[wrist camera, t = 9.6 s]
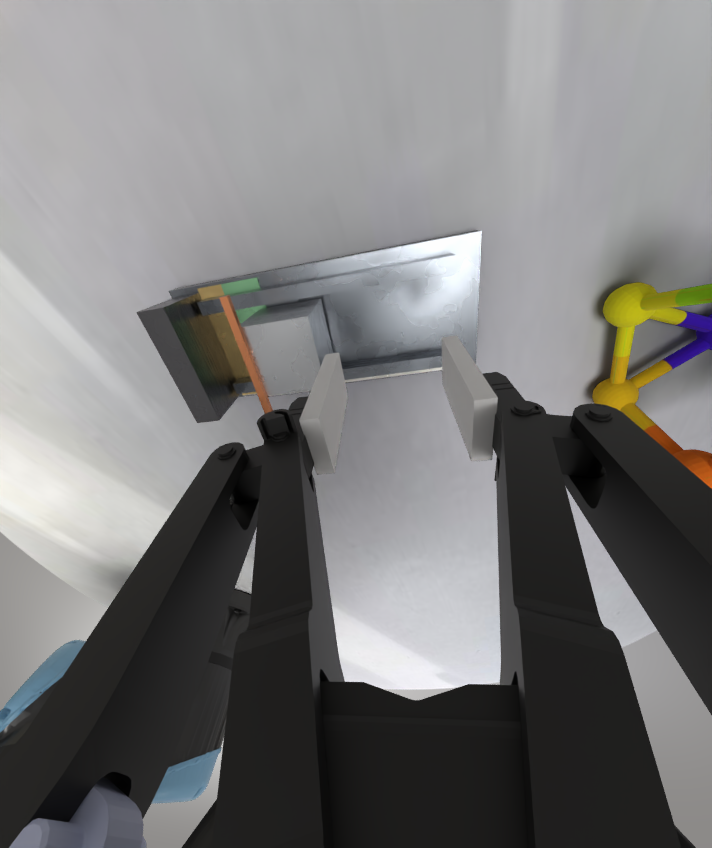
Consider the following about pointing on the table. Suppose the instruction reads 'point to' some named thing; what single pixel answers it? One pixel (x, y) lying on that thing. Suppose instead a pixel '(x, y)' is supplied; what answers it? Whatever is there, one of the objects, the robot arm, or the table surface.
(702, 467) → the educational toy
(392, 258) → the base
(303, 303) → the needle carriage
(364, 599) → the table surface
